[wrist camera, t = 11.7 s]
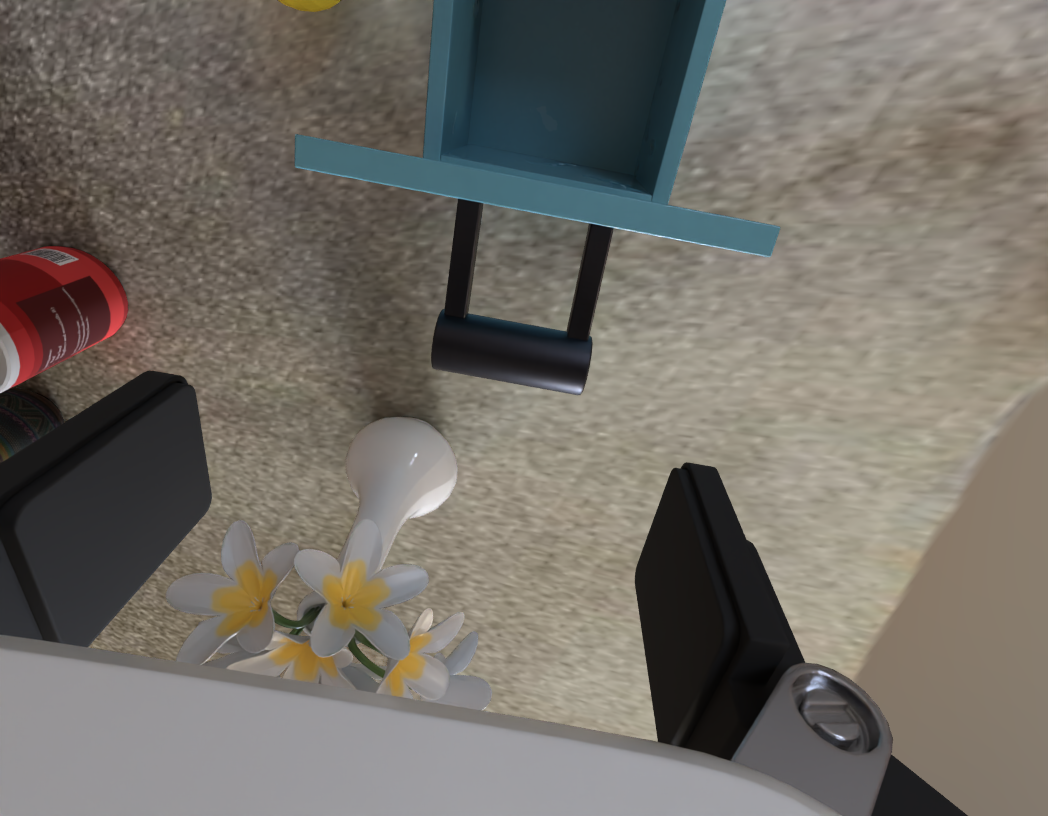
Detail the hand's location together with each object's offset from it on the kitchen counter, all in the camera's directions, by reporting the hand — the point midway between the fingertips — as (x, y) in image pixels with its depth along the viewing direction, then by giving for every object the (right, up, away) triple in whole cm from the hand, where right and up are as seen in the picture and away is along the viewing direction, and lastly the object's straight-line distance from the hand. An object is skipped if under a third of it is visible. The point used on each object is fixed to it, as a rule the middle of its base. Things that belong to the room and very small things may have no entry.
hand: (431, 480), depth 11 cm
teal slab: (+3, +10, +10) cm, 14 cm away
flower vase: (-7, -2, +38) cm, 39 cm away
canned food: (-33, +11, +33) cm, 48 cm away
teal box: (+5, +23, +23) cm, 33 cm away
